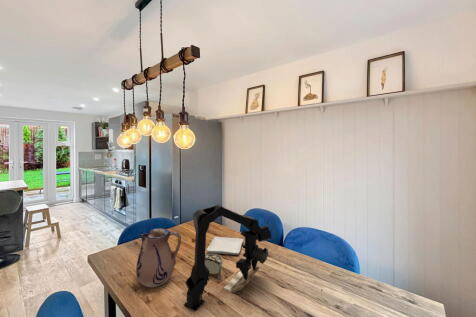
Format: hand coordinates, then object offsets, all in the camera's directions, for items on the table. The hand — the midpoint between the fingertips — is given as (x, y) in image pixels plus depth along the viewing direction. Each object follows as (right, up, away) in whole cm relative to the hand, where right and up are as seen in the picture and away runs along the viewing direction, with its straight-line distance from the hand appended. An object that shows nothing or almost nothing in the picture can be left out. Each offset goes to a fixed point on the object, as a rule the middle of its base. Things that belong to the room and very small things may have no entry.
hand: (250, 274), depth 105 cm
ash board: (-6, -5, +4) cm, 9 cm away
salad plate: (-14, -4, +40) cm, 43 cm away
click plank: (-1, -3, +1) cm, 4 cm away
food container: (-18, -5, +9) cm, 21 cm away
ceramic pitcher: (-45, -5, +4) cm, 46 cm away
